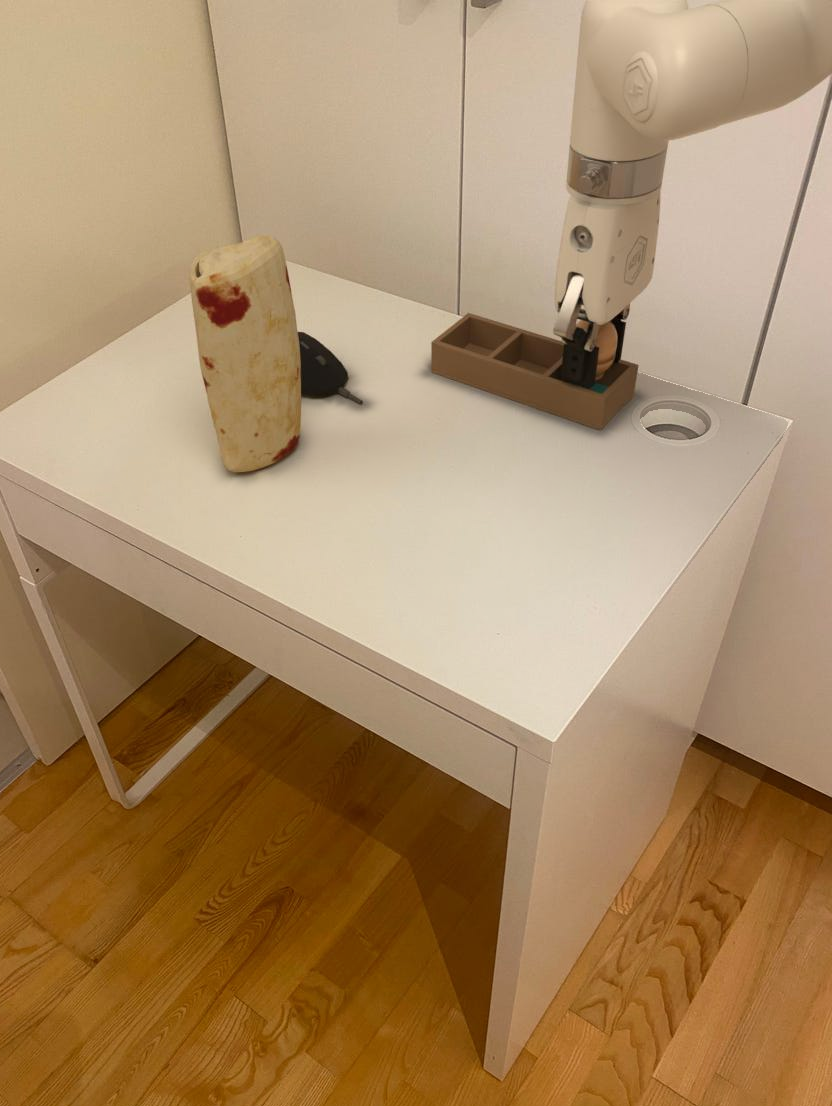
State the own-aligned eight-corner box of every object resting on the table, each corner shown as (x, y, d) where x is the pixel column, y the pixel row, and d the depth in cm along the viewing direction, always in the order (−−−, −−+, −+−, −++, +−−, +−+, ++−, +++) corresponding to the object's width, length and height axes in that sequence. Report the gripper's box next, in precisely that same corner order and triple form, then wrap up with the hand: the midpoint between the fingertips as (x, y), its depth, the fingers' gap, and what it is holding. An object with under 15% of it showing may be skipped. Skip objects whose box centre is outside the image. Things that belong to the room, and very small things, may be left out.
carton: (467, 342, 103) (468, 312, 101) (633, 396, 95) (638, 364, 92) (431, 372, 100) (431, 341, 98) (600, 430, 91) (604, 399, 89)
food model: (250, 494, 88) (213, 282, 74) (202, 465, 92) (157, 257, 77) (327, 443, 93) (306, 233, 78) (278, 417, 96) (249, 212, 82)
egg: (615, 363, 93) (622, 308, 89) (609, 387, 90) (617, 332, 86) (570, 359, 94) (575, 304, 90) (563, 383, 91) (569, 327, 87)
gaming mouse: (339, 419, 95) (336, 382, 92) (237, 368, 103) (231, 333, 100) (383, 390, 98) (381, 354, 95) (281, 342, 106) (276, 308, 103)
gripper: (608, 218, 73) (582, 427, 86) (705, 139, 81) (668, 340, 95) (519, 197, 76) (508, 401, 89) (621, 124, 85) (597, 320, 98)
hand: (590, 368), depth 92 cm, fingers closed on egg, 4 cm apart
